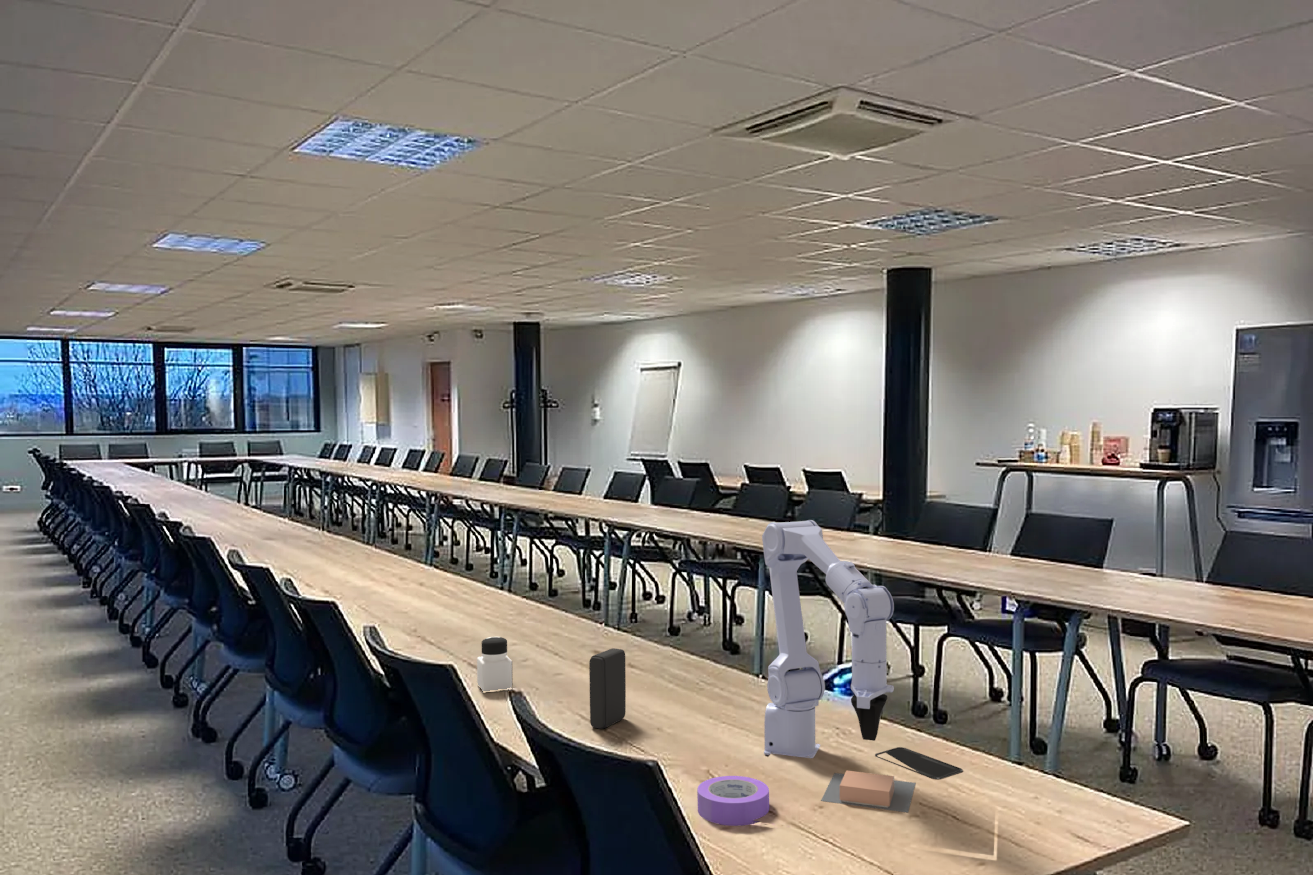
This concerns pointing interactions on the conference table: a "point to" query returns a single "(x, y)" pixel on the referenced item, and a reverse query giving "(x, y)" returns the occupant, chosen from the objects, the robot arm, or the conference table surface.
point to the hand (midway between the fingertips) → (869, 739)
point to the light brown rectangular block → (867, 788)
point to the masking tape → (733, 800)
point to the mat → (898, 803)
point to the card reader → (607, 688)
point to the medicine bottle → (494, 665)
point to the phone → (922, 763)
